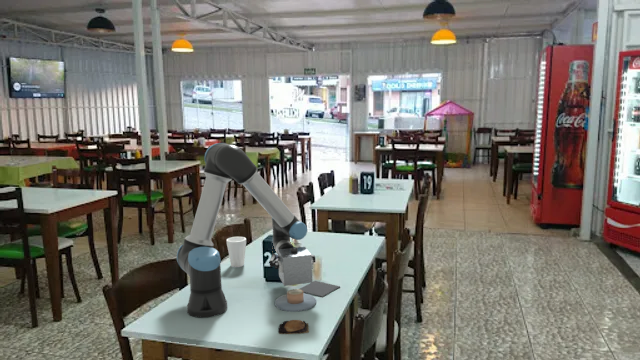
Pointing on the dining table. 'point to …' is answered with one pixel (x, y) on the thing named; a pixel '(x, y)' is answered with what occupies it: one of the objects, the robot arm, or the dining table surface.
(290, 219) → the robot arm
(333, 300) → the dining table surface
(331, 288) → the mat
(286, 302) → the plate with peach cylinder
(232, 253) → the foam cup
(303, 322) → the bread roll
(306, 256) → the food cover
